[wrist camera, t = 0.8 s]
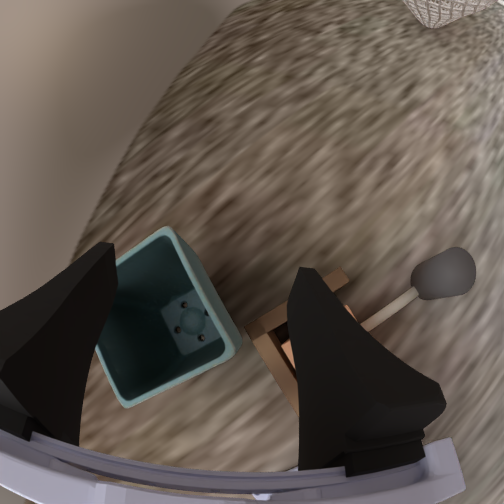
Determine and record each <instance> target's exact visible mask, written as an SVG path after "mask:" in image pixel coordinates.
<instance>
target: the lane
mask: <svg viewBox="0 0 504 504" xmlns="http://www.w3.org/2000/svg"><path fill="white" fill-rule="evenodd" d="M322 279H323V280H324V282H325V283H326V284H327V285H328V287H329V288H330V289H331V291H332V292H333V293H334V292H335V291H337V290H338V289H340V288H341V287H343V286H344V285H346V284H347V283H348V282H349V279H348V277H347V276H346V274H345V273H344V271H343V270H342V268H341V267H339V268H337V269H336V270H334V271H333V272H331V273H330V274H328V275H327V276H325V277H324V278H322ZM287 302H288V300H287V301H286V302H284V303H282V304H281V305H279V306H277V307H276V308H274V309H273V310H271V311H269V312H268V313H266V314H264V315H263V316H261V317H259V318H258V319H256V320H254V321H253V322H251V323H249V324H247V325H246V326H244V328H245V330H246V332H247V333H248V335H249V337H250V339H251V340H252V342H253V344H254V345H255V347H256V349H257V350H258V352H259V354H260V355H261V357H262V359H263V360H264V362H265V364H266V365H267V367H268V369H269V370H270V372H271V374H272V375H273V377H274V378H275V380H276V382H277V383H278V385H279V387H280V388H281V390H282V391H283V393H284V395H285V396H286V398H287V399H288V401H289V403H290V404H291V406H292V407H293V409H294V411H295V412H296V414H297V415H298V417H299V401H298V384H297V376H296V370H295V368H294V366H293V365H292V363H291V362H290V360H289V358H288V357H287V355H286V353H285V352H284V350H283V348H282V347H281V345H282V344H281V343H280V341H279V339H278V338H277V336H276V334H275V333H274V331H273V330H274V329H276V328H278V327H279V326H281V325H283V324H284V323H286V322H287Z"/></svg>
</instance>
